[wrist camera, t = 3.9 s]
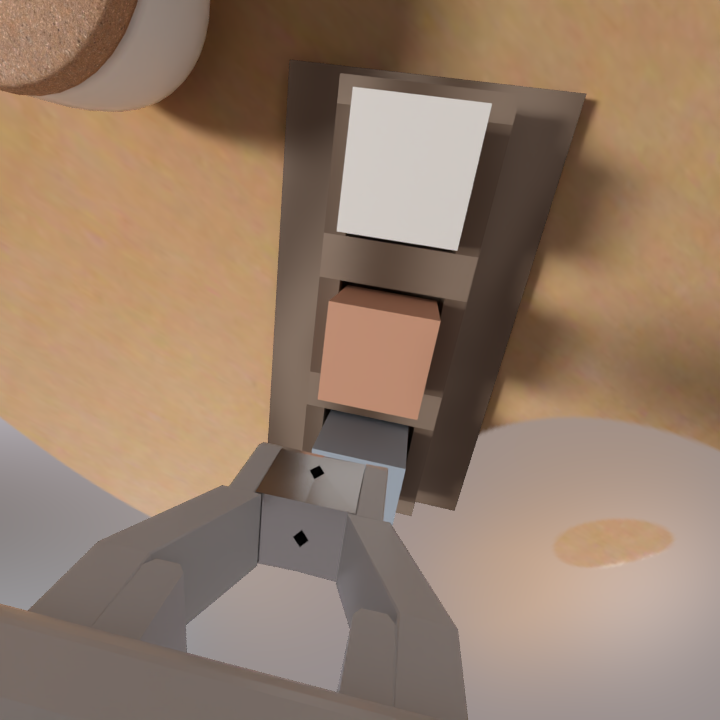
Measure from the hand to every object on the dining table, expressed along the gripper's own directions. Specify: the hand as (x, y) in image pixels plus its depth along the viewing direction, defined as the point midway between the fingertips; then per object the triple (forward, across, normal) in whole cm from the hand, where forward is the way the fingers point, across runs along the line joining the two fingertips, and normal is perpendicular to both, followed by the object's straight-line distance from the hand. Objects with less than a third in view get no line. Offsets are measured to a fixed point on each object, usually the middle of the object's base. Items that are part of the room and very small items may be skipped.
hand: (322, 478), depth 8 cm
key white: (+11, -1, -7) cm, 13 cm away
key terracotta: (+11, -1, 0) cm, 11 cm away
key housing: (+13, -1, 0) cm, 13 cm away
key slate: (+11, -1, +7) cm, 13 cm away
